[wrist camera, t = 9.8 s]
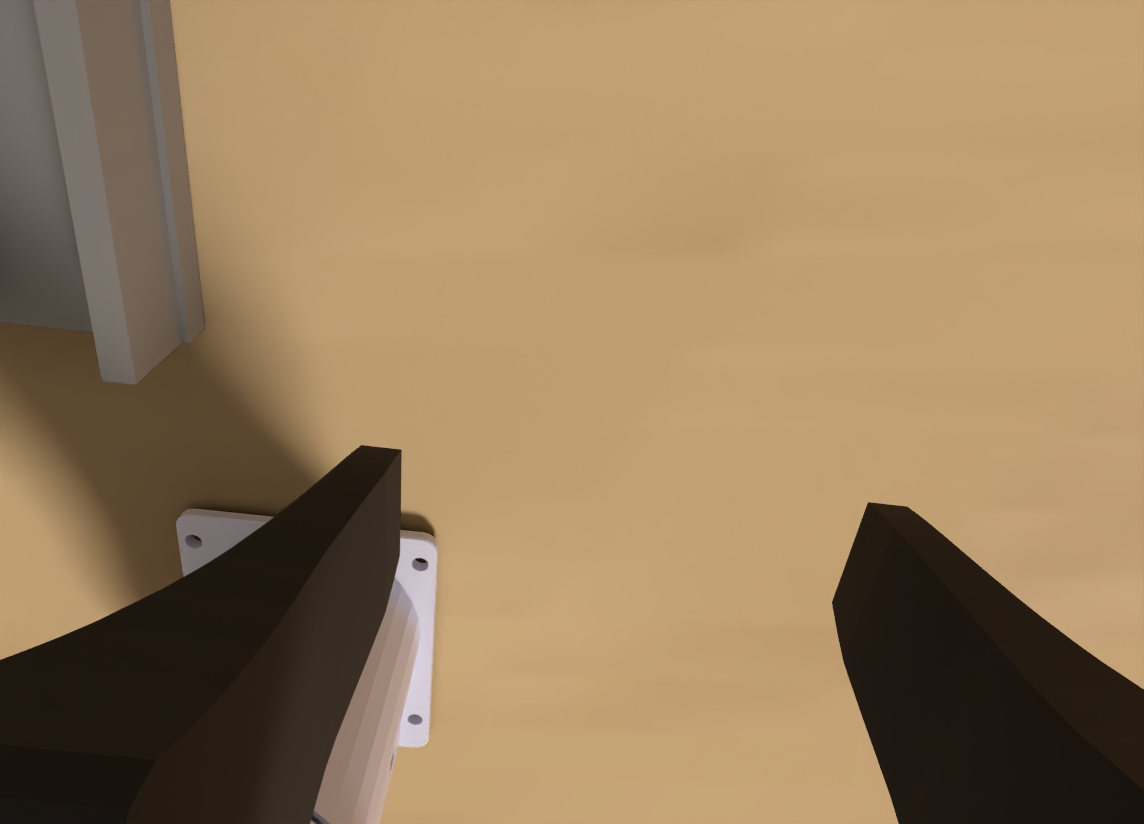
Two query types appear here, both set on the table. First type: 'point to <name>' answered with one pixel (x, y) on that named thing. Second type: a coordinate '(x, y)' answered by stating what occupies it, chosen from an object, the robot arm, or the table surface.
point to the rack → (96, 180)
